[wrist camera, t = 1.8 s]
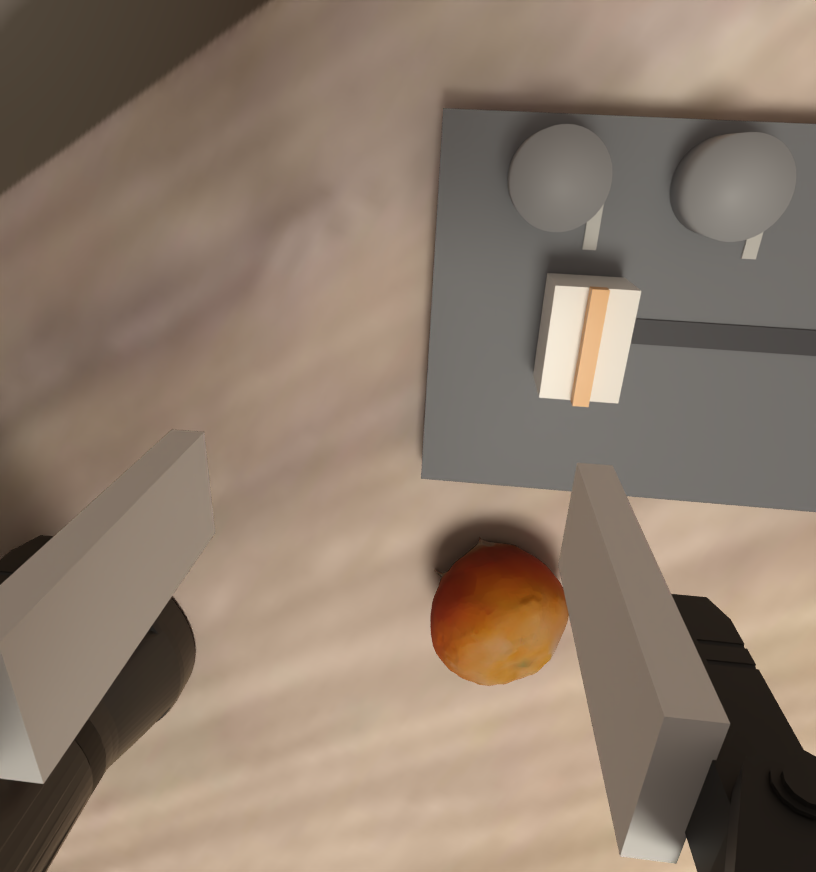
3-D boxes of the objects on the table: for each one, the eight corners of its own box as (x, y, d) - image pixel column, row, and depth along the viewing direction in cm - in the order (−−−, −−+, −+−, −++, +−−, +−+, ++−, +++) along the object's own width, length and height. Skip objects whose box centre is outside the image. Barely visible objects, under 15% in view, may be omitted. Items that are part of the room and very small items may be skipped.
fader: (532, 376, 30) (540, 403, 27) (547, 271, 28) (557, 287, 24) (604, 381, 30) (620, 409, 26) (624, 276, 27) (645, 292, 24)
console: (423, 462, 35) (417, 501, 31) (445, 111, 27) (440, 103, 23) (969, 507, 33) (1037, 555, 29) (1157, 141, 25) (1284, 138, 21)
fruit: (460, 498, 34) (526, 618, 29) (544, 523, 39) (615, 629, 34) (380, 586, 37) (426, 709, 32) (467, 598, 42) (520, 707, 37)
